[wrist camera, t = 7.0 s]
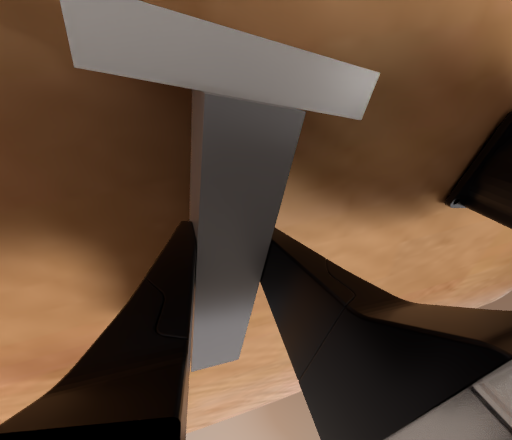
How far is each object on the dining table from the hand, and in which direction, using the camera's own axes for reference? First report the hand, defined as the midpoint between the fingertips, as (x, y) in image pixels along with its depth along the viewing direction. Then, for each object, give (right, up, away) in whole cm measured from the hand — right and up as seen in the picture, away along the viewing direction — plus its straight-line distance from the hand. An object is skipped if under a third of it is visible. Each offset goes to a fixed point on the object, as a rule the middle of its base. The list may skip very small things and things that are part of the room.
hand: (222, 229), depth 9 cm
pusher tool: (-1, 0, +1) cm, 1 cm away
